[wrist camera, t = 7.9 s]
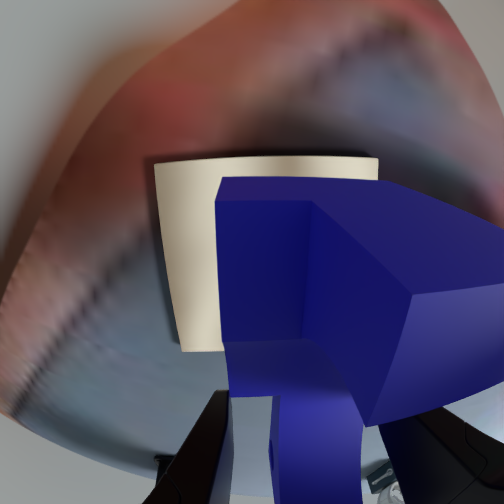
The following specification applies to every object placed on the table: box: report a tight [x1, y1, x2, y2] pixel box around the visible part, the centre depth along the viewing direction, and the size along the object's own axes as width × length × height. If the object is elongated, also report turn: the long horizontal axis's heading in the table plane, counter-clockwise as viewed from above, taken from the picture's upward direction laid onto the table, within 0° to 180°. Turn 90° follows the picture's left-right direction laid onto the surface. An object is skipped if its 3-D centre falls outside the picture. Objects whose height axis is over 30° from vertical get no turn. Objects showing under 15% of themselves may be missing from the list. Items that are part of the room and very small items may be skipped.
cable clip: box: [214, 176, 504, 504], centre depth 7 cm, size 12×4×6 cm, turn 0°
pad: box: [154, 156, 378, 352], centre depth 17 cm, size 12×12×1 cm
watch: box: [367, 461, 405, 504], centre depth 25 cm, size 6×8×11 cm
